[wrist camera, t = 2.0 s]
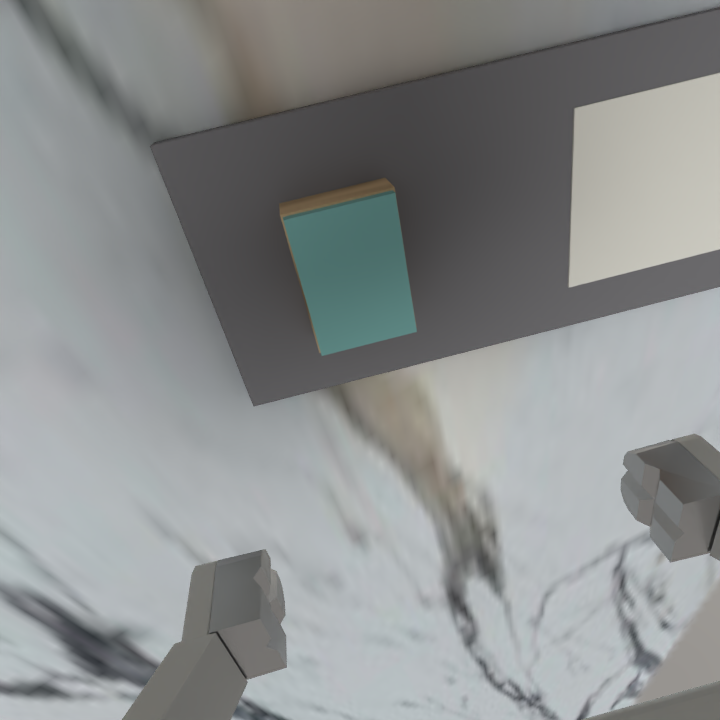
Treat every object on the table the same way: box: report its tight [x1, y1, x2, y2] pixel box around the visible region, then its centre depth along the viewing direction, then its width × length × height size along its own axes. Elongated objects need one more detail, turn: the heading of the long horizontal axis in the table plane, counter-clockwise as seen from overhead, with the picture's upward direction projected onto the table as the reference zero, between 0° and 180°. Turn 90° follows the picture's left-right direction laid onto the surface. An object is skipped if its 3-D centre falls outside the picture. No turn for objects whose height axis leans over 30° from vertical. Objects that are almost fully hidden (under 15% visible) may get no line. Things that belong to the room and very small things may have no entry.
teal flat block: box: [279, 178, 417, 356], centre depth 24 cm, size 7×5×2 cm
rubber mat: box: [150, 7, 720, 406], centre depth 25 cm, size 14×30×1 cm, turn 101°
